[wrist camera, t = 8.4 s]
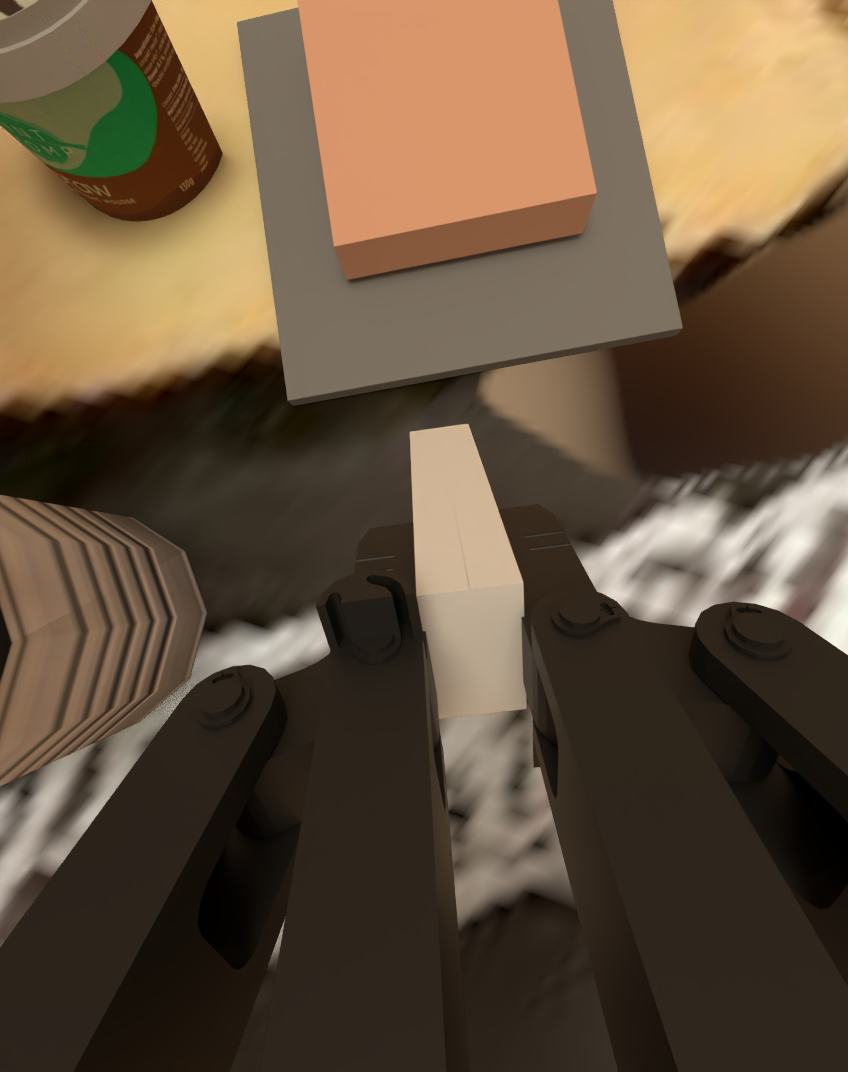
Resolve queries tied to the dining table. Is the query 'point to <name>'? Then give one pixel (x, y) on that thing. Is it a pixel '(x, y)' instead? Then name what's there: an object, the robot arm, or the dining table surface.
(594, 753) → the robot arm
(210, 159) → the food container
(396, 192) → the tile
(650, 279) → the mat
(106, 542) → the can
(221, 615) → the dining table surface
